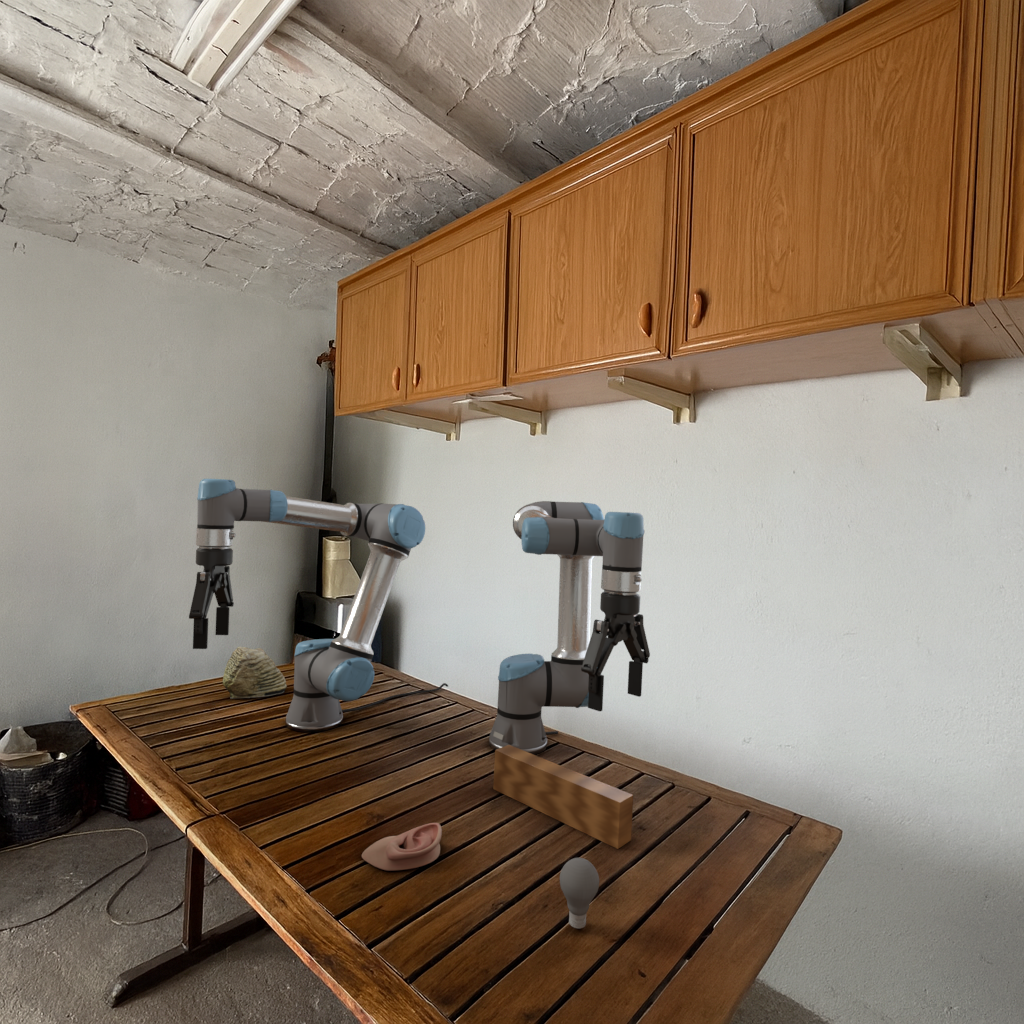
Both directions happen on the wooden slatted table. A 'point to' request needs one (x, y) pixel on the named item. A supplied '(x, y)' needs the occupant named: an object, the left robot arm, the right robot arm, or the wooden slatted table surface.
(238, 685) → the fossil
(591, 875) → the light bulb
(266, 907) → the wooden slatted table surface
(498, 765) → the bar
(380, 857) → the anatomical model
